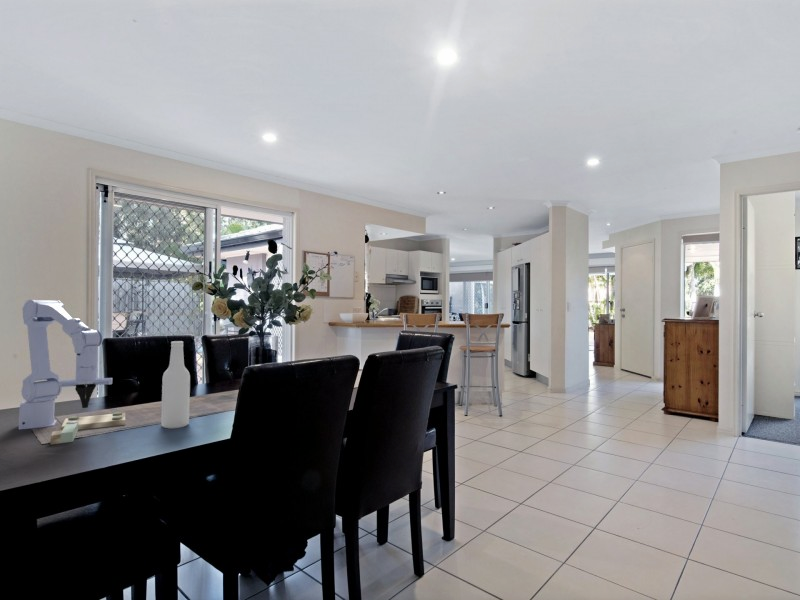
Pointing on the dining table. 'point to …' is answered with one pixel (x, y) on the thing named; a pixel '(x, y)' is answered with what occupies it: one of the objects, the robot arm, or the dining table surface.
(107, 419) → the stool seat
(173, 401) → the alcohol
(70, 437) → the hinged leg
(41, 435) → the dining table surface
